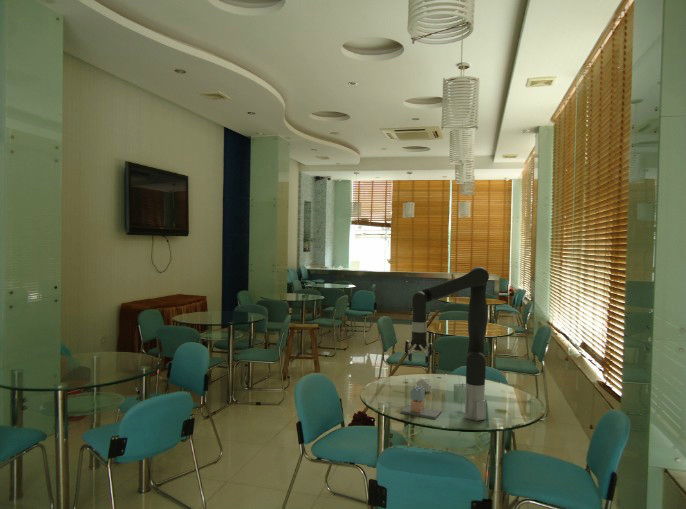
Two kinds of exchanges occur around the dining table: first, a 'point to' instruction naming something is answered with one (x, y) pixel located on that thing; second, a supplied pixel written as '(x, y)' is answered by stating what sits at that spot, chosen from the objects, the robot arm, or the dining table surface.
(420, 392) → the brick slate
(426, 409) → the baseplate
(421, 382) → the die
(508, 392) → the dining table surface
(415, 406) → the brick terracotta
